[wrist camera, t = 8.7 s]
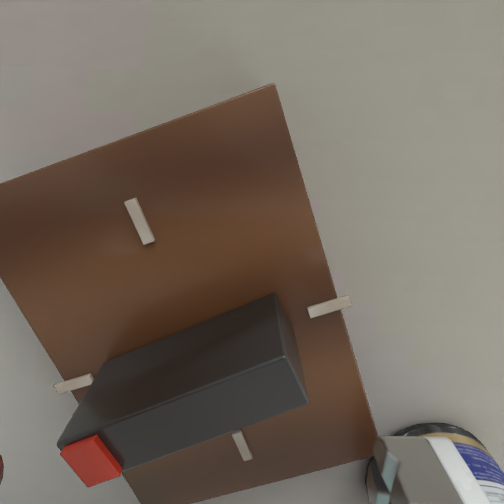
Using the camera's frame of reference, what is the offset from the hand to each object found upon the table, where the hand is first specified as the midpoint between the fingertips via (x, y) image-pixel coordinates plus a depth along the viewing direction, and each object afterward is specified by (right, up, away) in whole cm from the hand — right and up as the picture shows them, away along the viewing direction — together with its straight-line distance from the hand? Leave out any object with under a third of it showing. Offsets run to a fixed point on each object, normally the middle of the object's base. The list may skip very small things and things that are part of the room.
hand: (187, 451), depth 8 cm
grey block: (0, +1, +5) cm, 5 cm away
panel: (0, +2, +8) cm, 8 cm away
